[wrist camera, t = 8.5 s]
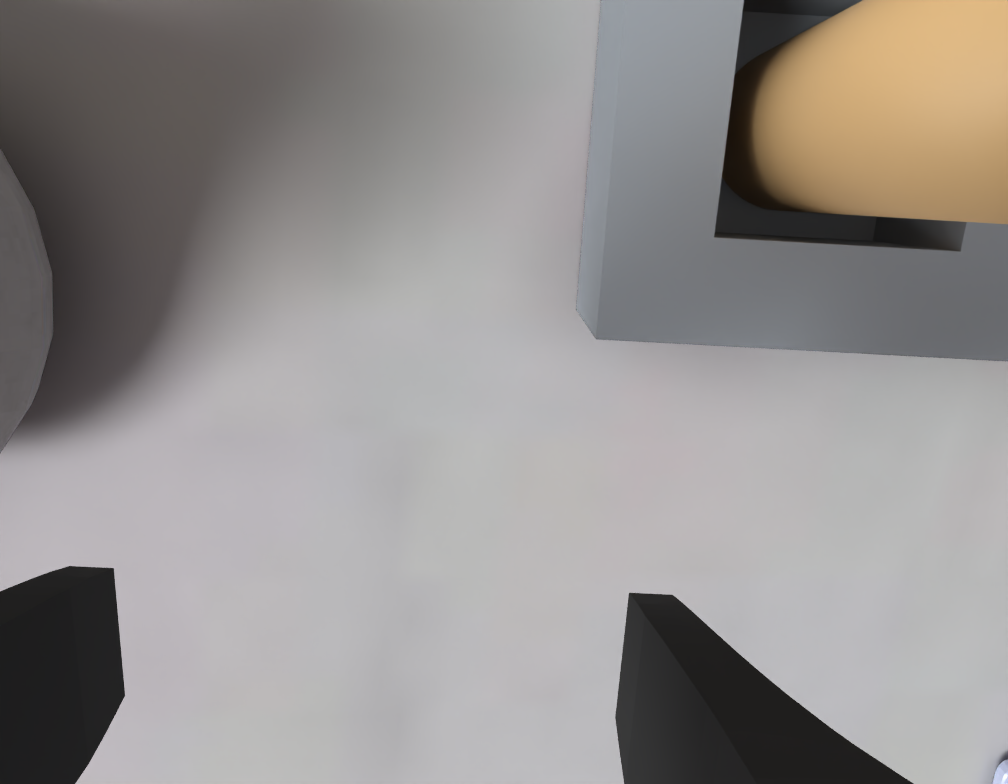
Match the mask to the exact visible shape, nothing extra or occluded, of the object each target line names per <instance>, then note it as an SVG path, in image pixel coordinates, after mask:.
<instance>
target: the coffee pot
mask: <svg viewBox="0 0 1008 784" xmlns="http://www.w3.org/2000/svg"><path fill="white" fill-rule="evenodd" d="M52 336H53V289H52V270H51V267H50V263H49V260H48V256H47V253H46V249H45V245H44V242H43V238H42V235H41V231H40V228H39V224H38V220H37V217H36V213H35V210H34V208H33V206H32V204H31V203H30V201H29V199H28V197H27V195H26V194H25V192H24V190H23V188H22V186H21V184H20V183H19V181H18V179H17V177H16V175H15V174H14V172H13V170H12V168H11V166H10V165H9V163H8V161H7V159H6V157H5V156H4V154H3V152H2V150H1V148H0V453H1V451H2V450H3V448H4V447H5V445H6V444H7V442H8V441H9V439H10V437H11V436H12V434H13V433H14V431H15V430H16V428H17V426H18V425H19V423H20V422H21V420H22V419H23V417H24V415H25V414H26V412H27V411H28V409H29V408H30V406H31V405H32V402H33V400H34V397H35V395H36V393H37V390H38V388H39V384H40V381H41V377H42V373H43V370H44V366H45V362H46V359H47V355H48V351H49V347H50V344H51V340H52Z"/></svg>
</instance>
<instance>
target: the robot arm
mask: <svg viewBox="0 0 1008 784" xmlns="http://www.w3.org/2000/svg"><path fill="white" fill-rule="evenodd" d="M124 696H125V691H124V680H123V669H122V658H121V646H120V635H119V624H118V613H117V601H116V590H115V579H114V568H96V567H75V566H69V567H65V568H62V569H59V570H55V571H52V572H49V573H46V574H44V575H41V576H38V577H35V578H33V579H30V580H28V581H25V582H23V583H20V584H18V585H15V586H13V587H10V588H8V589H5V590H3V591H0V784H75V783H76V781H77V780H78V779H79V777H80V776H81V774H82V773H83V771H84V770H85V768H86V767H87V765H88V764H89V762H90V760H91V759H92V757H93V755H94V753H95V751H96V750H97V748H98V746H99V744H100V742H101V741H102V739H103V737H104V735H105V733H106V731H107V730H108V728H109V726H110V724H111V722H112V720H113V718H114V716H115V714H116V712H117V710H118V708H119V706H120V704H121V702H122V700H123V698H124ZM615 718H616V725H617V733H618V741H619V749H620V757H621V763H622V770H623V777H624V784H913V783H912V782H910V781H908V780H907V779H905V778H904V777H902V776H901V775H899V774H898V773H896V772H895V771H893V770H892V769H890V768H889V767H887V766H886V765H884V764H883V763H881V762H879V761H878V760H876V759H875V758H873V757H872V756H870V755H869V754H867V753H866V752H864V751H863V750H861V749H860V748H858V747H857V746H855V745H854V744H852V743H851V742H850V741H848V740H847V739H845V738H844V737H843V736H841V735H840V734H838V733H837V732H835V731H834V730H833V729H831V728H830V727H829V726H827V725H826V724H825V723H823V722H822V721H821V720H819V719H818V718H817V717H816V716H814V715H813V714H812V713H810V712H809V711H808V710H806V709H805V708H804V707H803V706H801V705H800V704H799V703H797V702H796V701H795V700H793V699H792V698H791V697H790V696H788V695H787V694H786V693H785V692H783V691H782V690H781V689H780V688H779V687H777V686H776V685H775V684H774V683H772V682H771V681H770V680H769V679H768V678H766V677H765V676H764V675H763V674H762V673H760V672H759V671H758V670H757V669H756V668H755V667H753V666H752V665H751V664H750V663H749V662H748V661H747V660H745V659H744V658H743V657H742V656H741V655H740V654H739V653H737V652H736V651H735V650H734V649H733V648H732V647H731V646H730V645H728V644H727V643H726V642H725V641H724V640H723V639H722V638H721V637H720V636H718V635H717V634H716V633H715V632H714V631H713V630H712V629H711V628H710V627H708V626H707V625H706V624H705V623H704V622H703V621H702V620H701V619H700V618H699V617H697V616H696V615H695V614H694V613H693V612H692V611H691V610H690V609H689V608H687V607H686V606H685V605H684V604H683V603H682V602H681V601H679V600H678V599H677V598H676V597H674V596H673V595H662V594H641V593H629V599H628V608H627V617H626V626H625V635H624V644H623V654H622V663H621V672H620V681H619V690H618V699H617V708H616V717H615ZM992 784H1008V759H1007V760H1005V761H1003V762H1002V763H1001V764H1000V765H999V766H998V768H997V770H996V772H995V776H994V780H993V783H992Z"/></svg>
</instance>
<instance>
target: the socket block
mask: <svg viewBox="0 0 1008 784" xmlns="http://www.w3.org/2000/svg"><path fill="white" fill-rule="evenodd" d="M861 1H862V0H601V7H600V20H599V32H598V44H597V57H596V69H595V82H594V94H593V107H592V119H591V131H590V144H589V156H588V169H587V181H586V194H585V206H584V218H583V231H582V243H581V256H580V268H579V280H578V293H577V305H576V310H577V311H578V313H579V315H580V316H581V318H582V319H583V321H584V322H585V324H586V325H587V327H588V328H589V330H590V331H591V333H592V334H593V336H594V337H595V339H601V340H620V341H638V342H657V343H675V344H694V345H713V346H731V347H750V348H769V349H787V350H806V351H824V352H843V353H862V354H880V355H899V356H918V357H936V358H955V359H973V360H992V361H1008V224H994V223H977V222H960V221H944V220H927V219H910V218H893V217H877V216H860V215H843V214H827V213H810V212H793V211H777V210H769V209H765V208H761V207H758V206H755V205H753V204H751V203H749V202H747V201H745V200H744V199H742V198H741V197H739V196H738V195H737V194H736V193H735V192H733V190H732V189H731V188H730V187H729V186H728V185H727V184H726V182H725V181H724V179H723V178H722V171H723V163H724V155H725V147H726V139H727V131H728V123H729V115H730V107H731V99H732V91H733V83H734V75H735V74H736V73H737V72H738V71H739V70H740V69H741V68H742V67H743V66H744V65H746V64H747V63H748V62H749V61H751V60H752V59H754V58H755V57H757V56H759V55H760V54H762V53H764V52H766V51H768V50H770V49H772V48H774V47H776V46H777V45H779V44H781V43H783V42H785V41H787V40H789V39H791V38H793V37H794V36H796V35H798V34H800V33H802V32H804V31H806V30H808V29H810V28H811V27H813V26H815V25H817V24H819V23H821V22H823V21H825V20H827V19H828V18H830V17H832V16H834V15H836V14H838V13H840V12H842V11H844V10H845V9H847V8H849V7H851V6H853V5H855V4H857V3H859V2H861Z"/></svg>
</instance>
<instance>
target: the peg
mask: <svg viewBox="0 0 1008 784" xmlns="http://www.w3.org/2000/svg"><path fill="white" fill-rule="evenodd" d="M722 178H723V179H724V181H725V182H726V184H727V185H728V186H729V187H730V188H731V189H732V190H733V192H735V193H736V194H737V195H738V196H739V197H741V198H742V199H744V200H745V201H747V202H749V203H751V204H753V205H755V206H758V207H761V208H765V209H769V210H777V211H793V212H810V213H827V214H843V215H860V216H877V217H893V218H910V219H927V220H944V221H960V222H977V223H994V224H1008V0H862V1H861V2H859V3H857V4H855V5H853V6H851V7H849V8H847V9H845V10H844V11H842V12H840V13H838V14H836V15H834V16H832V17H830V18H828V19H827V20H825V21H823V22H821V23H819V24H817V25H815V26H813V27H811V28H810V29H808V30H806V31H804V32H802V33H800V34H798V35H796V36H794V37H793V38H791V39H789V40H787V41H785V42H783V43H781V44H779V45H777V46H776V47H774V48H772V49H770V50H768V51H766V52H764V53H762V54H760V55H759V56H757V57H755V58H754V59H752V60H751V61H749V62H748V63H747V64H746V65H744V66H743V67H742V68H741V69H740V70H739V71H738V72H737V73H736V74H735V75H734V83H733V91H732V99H731V107H730V115H729V123H728V131H727V139H726V147H725V155H724V163H723V171H722Z"/></svg>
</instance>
